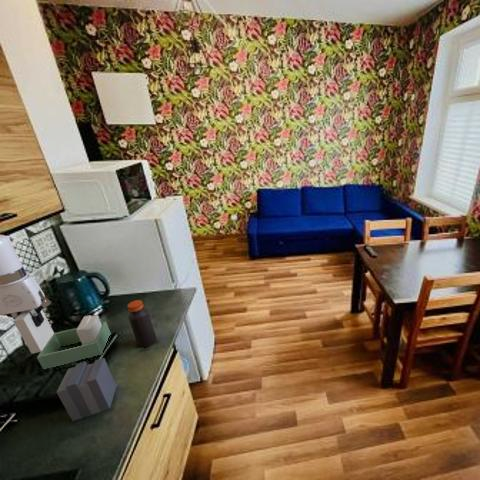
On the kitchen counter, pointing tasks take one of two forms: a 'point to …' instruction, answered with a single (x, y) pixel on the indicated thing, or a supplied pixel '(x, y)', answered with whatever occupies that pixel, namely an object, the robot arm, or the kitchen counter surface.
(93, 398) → the grey books
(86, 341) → the white books
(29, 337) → the white book
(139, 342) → the bottle
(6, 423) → the kitchen counter surface
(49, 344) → the crate
